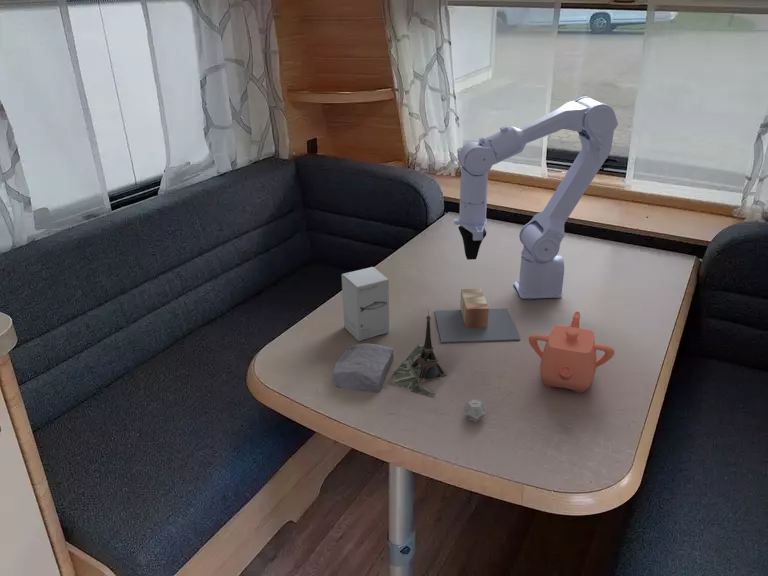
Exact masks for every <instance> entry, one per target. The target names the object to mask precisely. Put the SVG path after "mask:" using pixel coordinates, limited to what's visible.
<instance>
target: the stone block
mask: <svg viewBox="0 0 768 576" xmlns="http://www.w3.org/2000/svg"><path fill="white" fill-rule="evenodd" d="M394 357H395V355H394V348H393V347H389V346H387V345H386V346H385V345H380V344H376V343H367V342H365V343H355V344H354V345H350V346H348V347H346V348H345V351H344V352H343V353H342V354H341V355H340V357H339V358H338V360H337V362H336V364H335V366H334V368H333V373H332V379H333V381H334V384H335V386H336V387H337V388H339V389H342V390H345V391H346V390H347V391H356V392H357V391H362V392H368V393H369V392H370V393H371V392H373V393H380V392H381V391H382V388H383V386H384V383H385V381H386V379H387V376H388V373H389V371H390V369H391V367H392V365H393V361H394Z"/></svg>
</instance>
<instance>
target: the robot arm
mask: <svg viewBox="0 0 768 576" xmlns="http://www.w3.org/2000/svg"><path fill="white" fill-rule="evenodd" d="M616 115H617V114H616V112H615V110H614V108H612V107H611V106H610V105H609V104H607V103H603V102H599V101H597V100H595V99H594V98H593V97H590V96H580V97H579V98H577V99H575V100H571V101H568V102H566V103H564V104H563V105H561V106H560V107H559V108H556V109H554V110H552V111H551V112H549V113H546V114H545V115H543V116H541V117H539V118H537V119H535V120H533V121H532V122H530V123H528V124H526V125H524V126H522V127H520V128H517V127H515V126H512V125H511V126H506V125H504V126H501V127H500V128H499V131H497V132H495V133H493V134H492V135H489V136H487V137H485V138H484V137H483V136H482V137H480V138H478V142H477V141H469V142H467V143H465V144H464V145H463V146H462V147H461V149H460V150H459V154H457V160H458V162H459V164H460V165H461V167H460V168H461V169H460V171H461V172H460V182H459V183H460V184H459V187H460V189H459V217H458V218H454V219H453V224H454V225H459V226H458V228H457V229H458V231H459V233H460V235H461V238H462V242H463V248H464V254H465V257H466V260H467V261H468V260H469V261H470V260H476V259H477V257H478V254H479V252H480V251H479V250H480V248H481V245H482V242H483V240H484V239H485V238H486V236H487V230H486V226H487V223H488V220H487V204H488V185H489V183H488V182H489V181H488V179H489V178H488V177H489V176H488V175H489V172H490V170H491V169H492V167H493V166H494V165H497V164H498V163H501V162H503V161H505V160H507V159H510V158H512V157H513V156H516V155H518V154H521V153H523V151H524V149H525V148H526V145H527V144H529V143H531V142H534V141H537V140H538V139H541V138H542V139H543V138H544V137H546V136H549V135H552V134H553V133H556V132H559V131H561V130H569V131H572V132H577V133H578V137H579V140H580V143H581V146H582V148H581V149H580V151H579V153H578V154H577V156H576V158H575V159H574V161H573V163H572V164H571V166H570V167H569V168H568V170H567V172H566V173H565V175H564V177H563V178H562V180H561V181H560V183H559V184H558V186H557V188H556V190H555V192H553V194H552V195H551V197H550V199H549V200H548V202H547V204H546V205H545V207H544V209H543V210H542V211H540V212H538V213H536V214H534V215H533V216H532V218H531V220H529V222H528V223H526V224H524V225H523V226H522V228H521V229H520V231H519V236H518V237H519V241H520V243H521V244H522V245H523V248H522V251H521V255H520V268H519V280H518V281H514V283H513V285H514V287H515V288H516V291H517V293H518V295H519V298H520V299H522V300H529V299H532V300H533V299H556V298H557V299H558V298H559V299H560V298H563V294H562V293H563V283H564V276H565V262H564V261H565V260H564V258H563V256H562V255H561V254H559V252H560V248H561V243H562V241H563V239H564V237H565V223H566V222H567V220H568V219H569V217H570V216H571V214H572V212H573V211H574V210H575V208H576V206H577V205H578V204H579V202H580V200H581V198H582V197H583V195H584V194H585V192H587V189H588V188H589V186H591V183H592V182H593V180H594V179H595V177H596V176H597V174H598V172H599V171H600V169H601V167H602V166H603V165H604V163H605V161H606V160H607V158H608V156H609V155H610V153H611V151H612V148H613V147H612V146H613V145H612V144H613V139H614V134H615V133H614V132H615V130H616V128H617V127H618V125H619V123H618V119H617V116H616Z"/></svg>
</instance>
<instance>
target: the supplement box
mask: <svg viewBox="0 0 768 576" xmlns="http://www.w3.org/2000/svg"><path fill="white" fill-rule="evenodd" d="M341 290H342V307H343V308H342V311H343V328H345V329H346V330H347V331H348V332H349V333H350V335H352V336H353V337H354V339H356V341H358V342H360V341H364V340H367V339H370V338H374V337H377V336H381V335H385V334H389V333H390V307H389V305H390V301H389V294H390V293H389V291H390V290H389V278H388V277H386V276H385V275H384V274H383V273H382V272H380V271H379V270H377V269H376V268H375V267H374V266H370V267H367V268H361V269H358V270H357V269H356V270H354V271H349V272H345V273H342V274H341Z"/></svg>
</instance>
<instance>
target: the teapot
mask: <svg viewBox="0 0 768 576" xmlns="http://www.w3.org/2000/svg"><path fill="white" fill-rule="evenodd" d="M580 318H581V313H580V312H579V311H575V312H574V313H573V316H572V320H571V323H570V326H569V325H568V326H566V325H559V324H556V325H554V326H553V327H552V329H551V331H550V333H549V335H544V334H538V333H537V334H536V333H535V334H534V333H533V334H530V335H529V336H528V343H529V345H530V347H531V348H532V349H533V351H534V353H536V355H538V357H540V367H539V369H540V373H539V374H540V376H541V380H542V383H544V385H545V386H546V387H548V388H555V387H558V388H563V389H568V390H573V391H574V392H576V393H580V394H582V393H585V391H587V390H588V389H589V387H590V386H591V383H592V382H593V380H594V378H595V374H596V369H597V368H599V367H601V366H602V365H604V364H605V363H607V362H608V361H610V360H611V359H612V358H613V357H614V355H615V353H616V352H615V349H614V348H613V347H612V346H609V345H605V344H601V343H600V344H599V343H596V340H595V334H594V331H593V330H592V329H591V330H590V329H586V328H580ZM538 341H543V342H546V343H544V347H543V350H542V349H541V348H540V346H539V344H538ZM597 350H598V351H603V352H604V354H603V356H602V357H601V358H599V359H598V360H597Z"/></svg>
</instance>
